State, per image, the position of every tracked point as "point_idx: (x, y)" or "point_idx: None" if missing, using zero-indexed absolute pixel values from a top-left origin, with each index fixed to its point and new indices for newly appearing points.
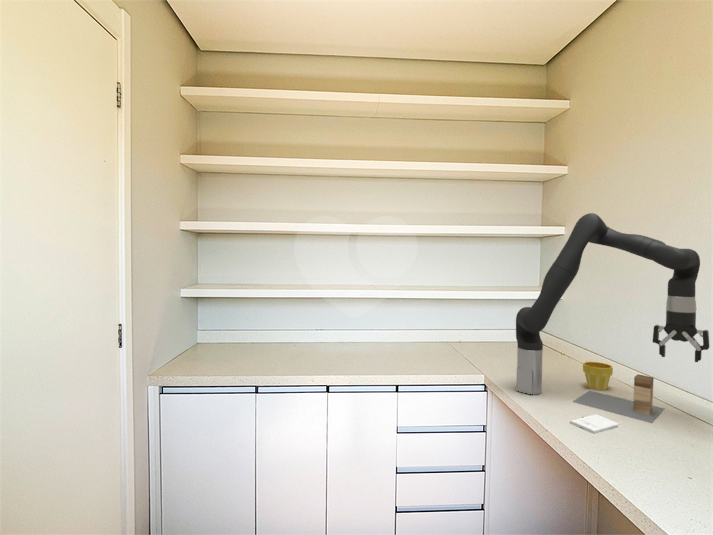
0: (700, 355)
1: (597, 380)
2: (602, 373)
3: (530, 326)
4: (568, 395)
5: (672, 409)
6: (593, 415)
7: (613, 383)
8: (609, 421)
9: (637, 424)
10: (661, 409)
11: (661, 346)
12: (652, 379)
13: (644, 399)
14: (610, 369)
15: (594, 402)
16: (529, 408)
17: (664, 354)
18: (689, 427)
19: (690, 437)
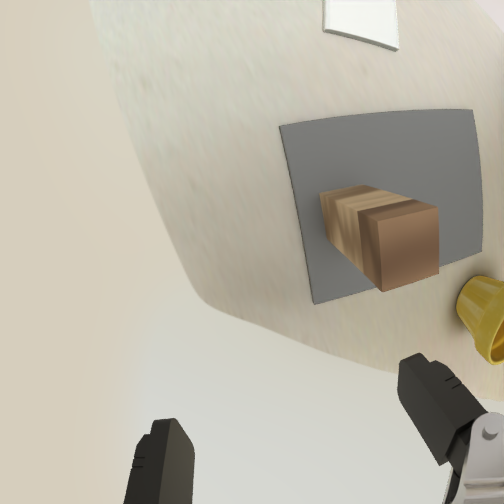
0: (132, 473)
1: (489, 286)
2: (497, 301)
3: None
4: (495, 168)
5: (302, 329)
6: (393, 33)
7: (448, 366)
8: (348, 21)
9: (305, 90)
10: (317, 287)
11: (470, 418)
12: (378, 268)
13: (353, 198)
14: (490, 334)
15: (448, 157)
16: (472, 3)
17: (409, 385)
18: (207, 219)
19: (169, 135)
